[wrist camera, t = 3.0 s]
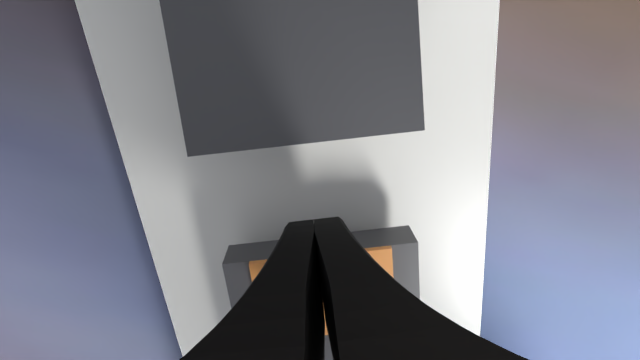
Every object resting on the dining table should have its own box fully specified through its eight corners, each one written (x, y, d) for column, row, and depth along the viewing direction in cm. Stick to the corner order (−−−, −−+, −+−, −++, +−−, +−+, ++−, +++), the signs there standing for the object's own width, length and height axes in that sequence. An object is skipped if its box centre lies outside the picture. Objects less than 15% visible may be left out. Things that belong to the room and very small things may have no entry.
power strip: (445, 509, 23) (465, 579, 20) (262, 529, 23) (257, 602, 20) (461, -231, 11) (517, -314, 8) (75, -188, 11) (-4, -257, 8)
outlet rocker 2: (415, 392, 13) (424, 424, 12) (261, 409, 13) (257, 442, 12) (408, 224, 11) (420, 245, 10) (228, 245, 11) (221, 267, 10)
